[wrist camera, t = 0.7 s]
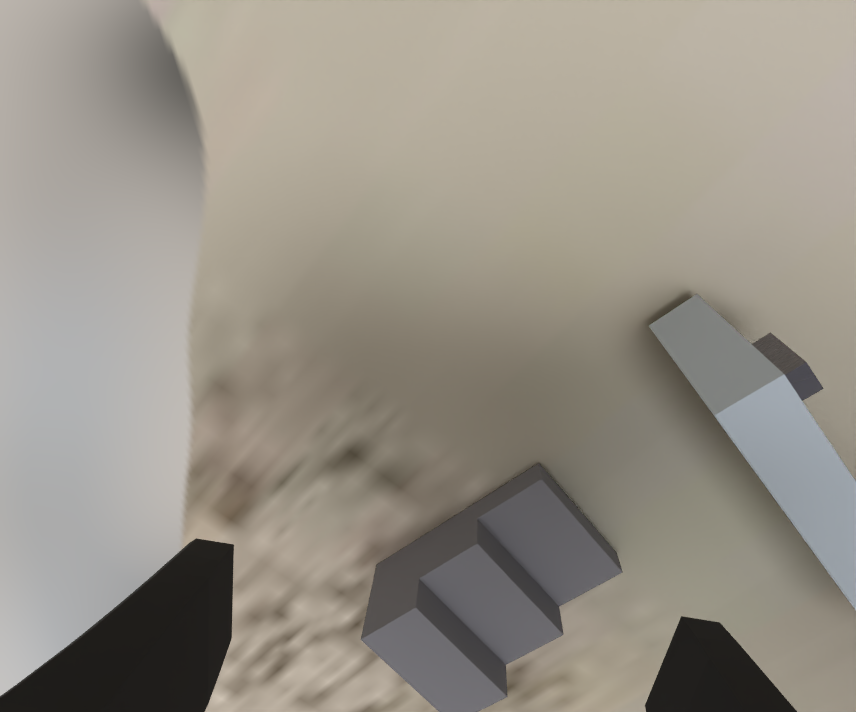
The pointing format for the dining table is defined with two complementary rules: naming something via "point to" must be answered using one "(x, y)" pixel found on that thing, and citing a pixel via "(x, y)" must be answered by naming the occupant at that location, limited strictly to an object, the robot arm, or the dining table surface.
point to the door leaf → (770, 427)
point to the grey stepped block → (484, 591)
